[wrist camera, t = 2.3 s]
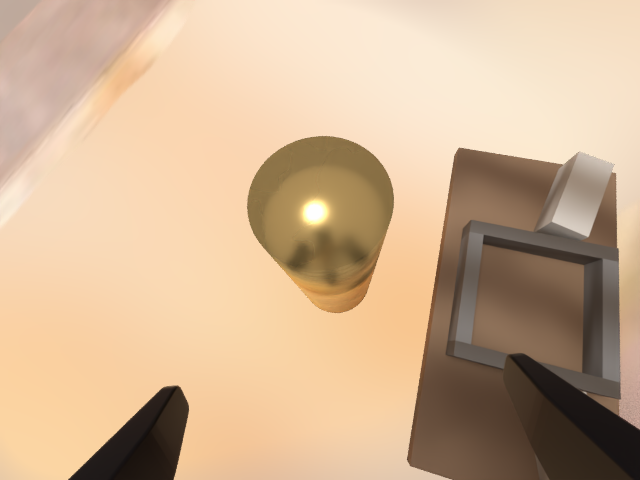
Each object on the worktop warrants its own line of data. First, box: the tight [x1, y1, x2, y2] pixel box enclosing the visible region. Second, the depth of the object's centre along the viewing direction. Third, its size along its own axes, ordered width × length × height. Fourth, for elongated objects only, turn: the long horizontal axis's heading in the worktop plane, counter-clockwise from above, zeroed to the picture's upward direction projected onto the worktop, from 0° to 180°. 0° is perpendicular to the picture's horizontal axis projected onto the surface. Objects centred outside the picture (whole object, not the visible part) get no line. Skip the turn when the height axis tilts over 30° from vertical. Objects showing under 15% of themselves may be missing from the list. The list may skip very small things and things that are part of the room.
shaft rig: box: [407, 148, 621, 480], centre depth 18 cm, size 20×10×3 cm, turn 165°
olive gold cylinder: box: [247, 136, 394, 313], centre depth 15 cm, size 4×4×12 cm
